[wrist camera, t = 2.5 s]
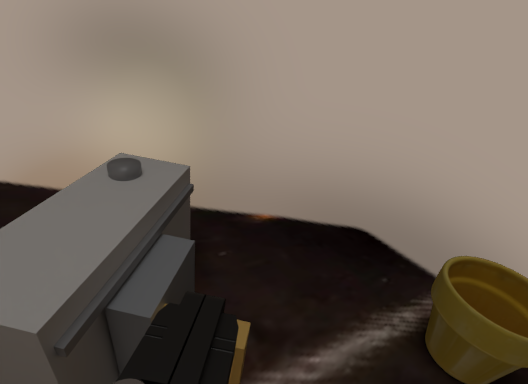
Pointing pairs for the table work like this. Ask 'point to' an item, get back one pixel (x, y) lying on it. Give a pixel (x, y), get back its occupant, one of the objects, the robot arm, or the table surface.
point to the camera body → (82, 267)
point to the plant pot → (478, 320)
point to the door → (159, 298)
